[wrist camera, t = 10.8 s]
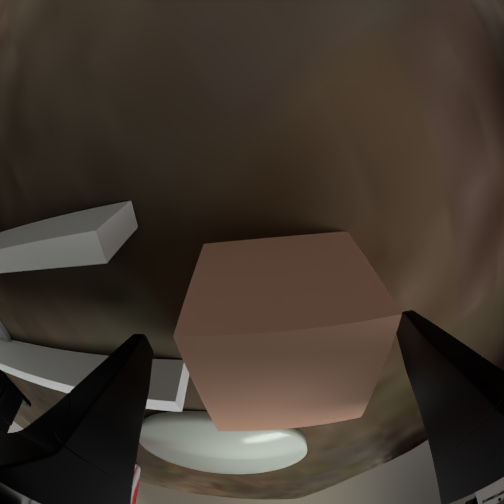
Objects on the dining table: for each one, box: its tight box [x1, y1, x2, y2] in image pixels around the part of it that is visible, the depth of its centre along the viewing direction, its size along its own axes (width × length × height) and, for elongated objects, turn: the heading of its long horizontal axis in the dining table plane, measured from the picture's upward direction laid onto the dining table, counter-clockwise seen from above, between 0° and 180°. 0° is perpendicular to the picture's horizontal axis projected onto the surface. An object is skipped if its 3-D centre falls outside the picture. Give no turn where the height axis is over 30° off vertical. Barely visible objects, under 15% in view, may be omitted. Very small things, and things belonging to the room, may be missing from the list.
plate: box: [139, 411, 307, 474], centre depth 18 cm, size 14×14×1 cm
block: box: [173, 231, 402, 431], centre depth 8 cm, size 5×5×4 cm
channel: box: [0, 201, 189, 412], centre depth 10 cm, size 22×9×2 cm, turn 96°
